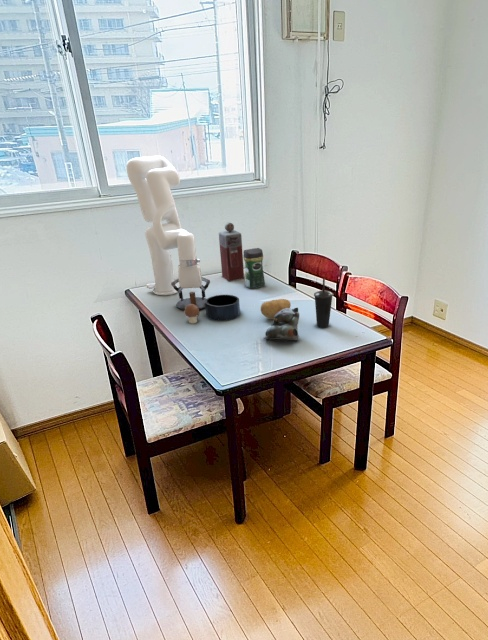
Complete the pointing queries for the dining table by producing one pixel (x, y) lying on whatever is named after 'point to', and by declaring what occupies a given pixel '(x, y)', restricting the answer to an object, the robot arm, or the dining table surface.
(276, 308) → the potato
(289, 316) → the lucky cat figurine
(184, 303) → the pan lid
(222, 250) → the vintage gas pump model
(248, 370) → the dining table surface
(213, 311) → the pan
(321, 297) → the drinking cup
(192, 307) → the mushroom
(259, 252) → the coffee jar
